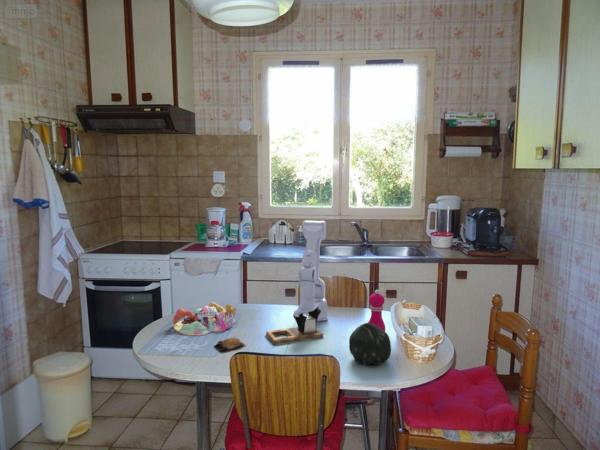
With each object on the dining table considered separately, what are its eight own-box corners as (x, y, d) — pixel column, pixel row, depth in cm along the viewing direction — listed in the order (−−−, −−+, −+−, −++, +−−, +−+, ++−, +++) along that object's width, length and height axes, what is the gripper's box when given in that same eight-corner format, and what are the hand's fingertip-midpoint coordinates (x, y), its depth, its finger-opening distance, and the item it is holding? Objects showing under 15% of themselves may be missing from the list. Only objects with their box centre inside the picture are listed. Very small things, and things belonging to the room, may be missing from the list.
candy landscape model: (204, 312, 202) (203, 293, 201) (245, 321, 191) (245, 301, 190) (164, 330, 180) (163, 309, 179) (208, 341, 169) (208, 318, 168)
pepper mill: (387, 337, 172) (388, 288, 169) (382, 344, 165) (383, 293, 163) (369, 334, 175) (370, 286, 172) (364, 340, 168) (365, 291, 166)
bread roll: (237, 341, 170) (237, 331, 169) (247, 348, 163) (247, 338, 162) (211, 347, 163) (211, 337, 163) (221, 355, 156) (221, 345, 156)
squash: (390, 336, 159) (364, 308, 156) (405, 354, 144) (377, 324, 141) (361, 361, 159) (335, 334, 156) (373, 383, 145) (345, 353, 141)
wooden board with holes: (313, 328, 181) (313, 324, 181) (323, 337, 172) (323, 333, 171) (266, 335, 174) (266, 331, 174) (274, 345, 164) (274, 340, 164)
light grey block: (310, 331, 178) (310, 315, 177) (315, 335, 173) (315, 319, 172) (299, 333, 176) (299, 316, 175) (303, 337, 172) (303, 320, 171)
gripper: (310, 290, 181) (310, 322, 183) (287, 298, 170) (287, 332, 171) (324, 294, 176) (324, 326, 178) (301, 302, 165) (301, 336, 167)
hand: (307, 329), depth 174 cm, fingers closed on light grey block, 7 cm apart
